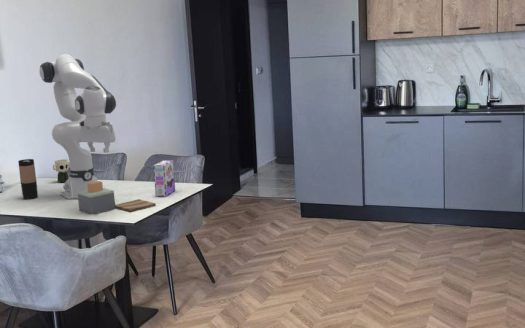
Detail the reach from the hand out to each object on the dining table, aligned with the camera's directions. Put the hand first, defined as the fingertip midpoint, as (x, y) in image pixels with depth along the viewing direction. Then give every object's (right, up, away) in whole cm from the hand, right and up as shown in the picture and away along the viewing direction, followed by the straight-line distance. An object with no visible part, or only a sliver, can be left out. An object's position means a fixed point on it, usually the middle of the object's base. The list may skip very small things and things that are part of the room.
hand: (99, 152), depth 263 cm
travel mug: (-46, -23, +35) cm, 62 cm away
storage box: (-2, -27, +4) cm, 27 cm away
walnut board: (+15, -26, +7) cm, 31 cm away
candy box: (+25, -21, +31) cm, 45 cm away
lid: (-2, -20, +3) cm, 20 cm away
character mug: (-42, -16, +72) cm, 85 cm away
